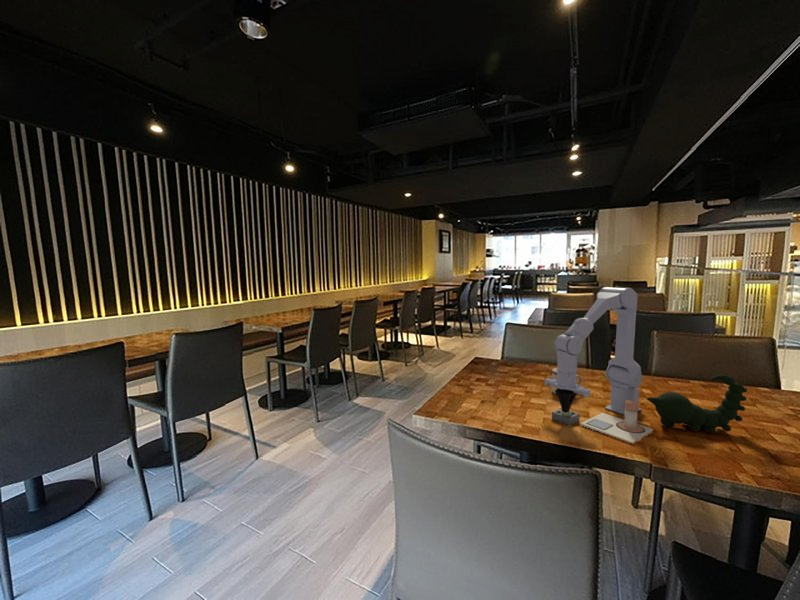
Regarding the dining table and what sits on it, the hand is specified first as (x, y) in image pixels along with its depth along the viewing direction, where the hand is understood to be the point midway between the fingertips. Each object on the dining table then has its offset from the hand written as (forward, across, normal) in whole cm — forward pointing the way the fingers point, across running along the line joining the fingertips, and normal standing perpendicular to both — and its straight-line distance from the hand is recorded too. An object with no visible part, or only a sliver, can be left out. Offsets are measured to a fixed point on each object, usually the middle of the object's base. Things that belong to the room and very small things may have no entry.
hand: (565, 411), depth 114 cm
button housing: (+3, 0, 0) cm, 3 cm away
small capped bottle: (+2, +16, +9) cm, 18 cm away
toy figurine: (+3, +26, +26) cm, 37 cm away
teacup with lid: (+3, -14, +25) cm, 29 cm away
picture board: (+3, +12, +7) cm, 15 cm away
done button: (+2, 0, 0) cm, 2 cm away
